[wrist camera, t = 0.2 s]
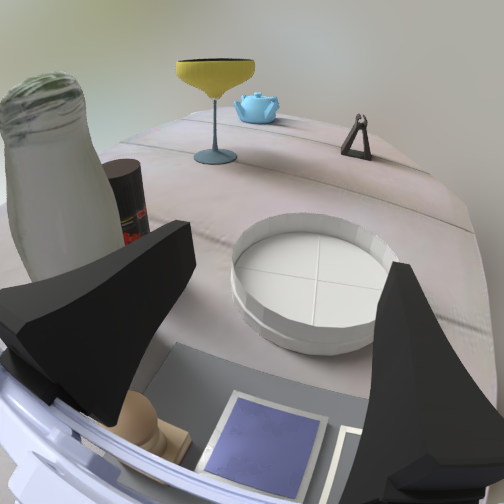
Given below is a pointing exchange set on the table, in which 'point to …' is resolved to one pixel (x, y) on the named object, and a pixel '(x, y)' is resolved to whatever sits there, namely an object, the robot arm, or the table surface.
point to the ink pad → (264, 447)
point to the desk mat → (214, 402)
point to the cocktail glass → (215, 91)
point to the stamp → (150, 431)
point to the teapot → (257, 108)
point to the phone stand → (350, 138)
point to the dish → (310, 282)
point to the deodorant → (128, 197)
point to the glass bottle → (55, 178)
